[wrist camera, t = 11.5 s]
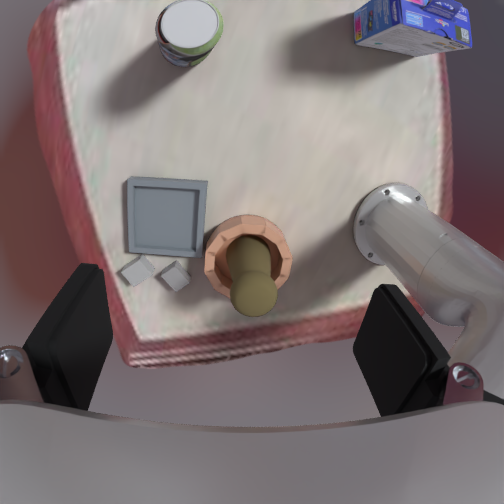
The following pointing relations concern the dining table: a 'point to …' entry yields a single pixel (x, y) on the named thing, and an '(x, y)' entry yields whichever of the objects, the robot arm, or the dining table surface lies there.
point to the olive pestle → (251, 276)
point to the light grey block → (138, 270)
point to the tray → (166, 216)
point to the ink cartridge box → (413, 26)
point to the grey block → (176, 276)
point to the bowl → (235, 228)
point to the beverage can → (188, 31)
